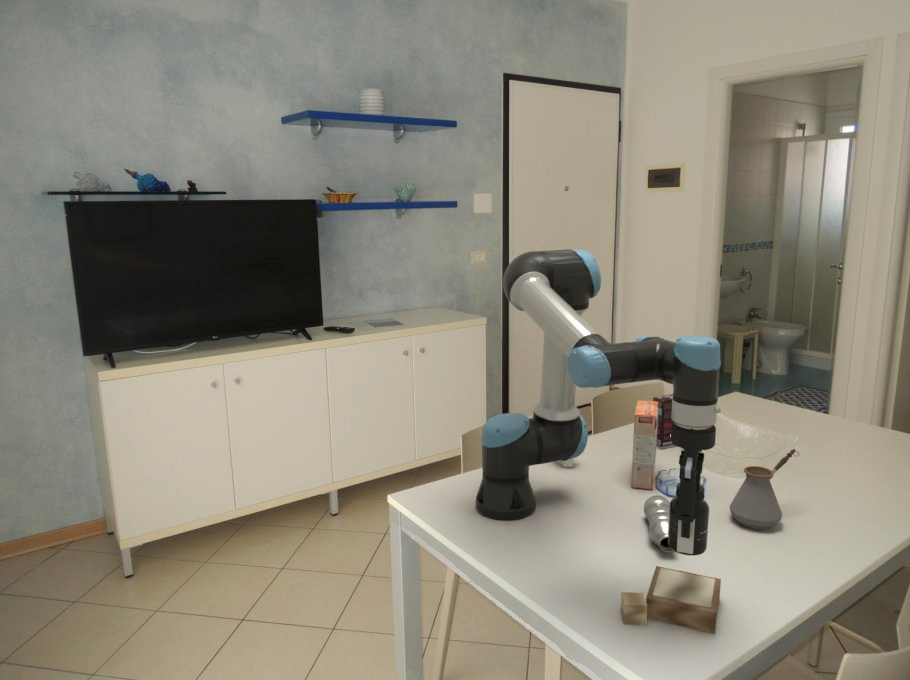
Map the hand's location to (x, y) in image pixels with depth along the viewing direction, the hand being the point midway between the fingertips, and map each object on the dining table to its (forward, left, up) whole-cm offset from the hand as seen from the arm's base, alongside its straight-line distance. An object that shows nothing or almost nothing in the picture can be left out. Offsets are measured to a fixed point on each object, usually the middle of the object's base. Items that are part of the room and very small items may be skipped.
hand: (687, 542), depth 123 cm
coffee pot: (+14, +47, -14) cm, 51 cm away
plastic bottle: (-11, +37, -10) cm, 40 cm away
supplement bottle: (0, 0, -1) cm, 1 cm away
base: (0, 0, -13) cm, 13 cm away
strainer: (-39, +60, -14) cm, 73 cm away
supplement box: (-15, +88, -14) cm, 90 cm away
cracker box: (-17, +58, -14) cm, 62 cm away
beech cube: (-8, -7, -14) cm, 17 cm away
